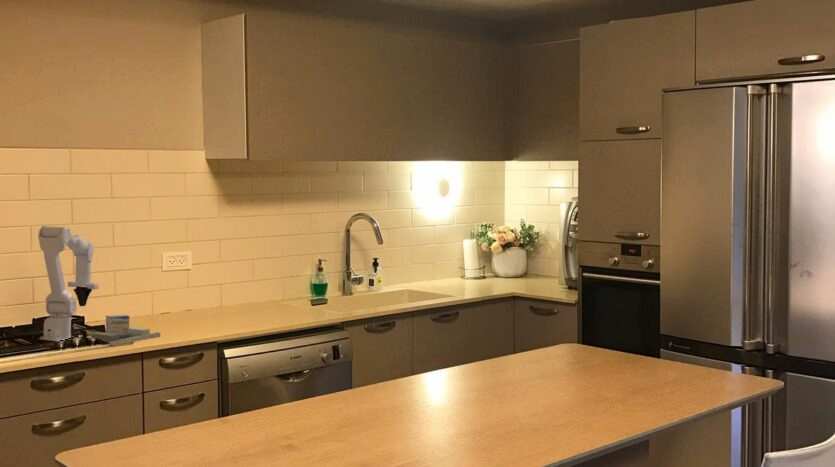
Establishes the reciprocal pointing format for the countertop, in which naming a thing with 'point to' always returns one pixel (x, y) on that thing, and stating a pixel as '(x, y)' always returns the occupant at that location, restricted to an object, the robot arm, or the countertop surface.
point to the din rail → (134, 339)
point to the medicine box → (118, 325)
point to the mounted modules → (111, 337)
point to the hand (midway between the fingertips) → (82, 305)
